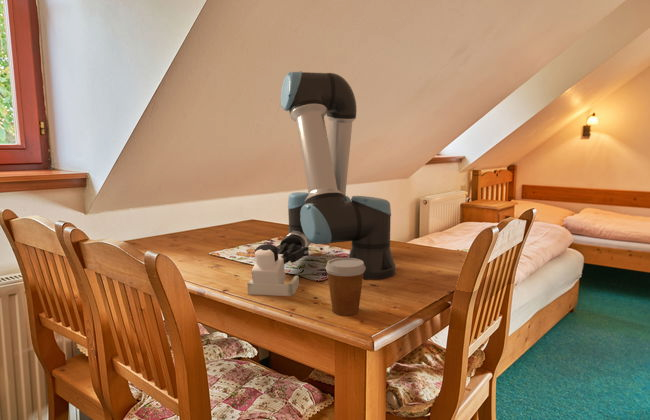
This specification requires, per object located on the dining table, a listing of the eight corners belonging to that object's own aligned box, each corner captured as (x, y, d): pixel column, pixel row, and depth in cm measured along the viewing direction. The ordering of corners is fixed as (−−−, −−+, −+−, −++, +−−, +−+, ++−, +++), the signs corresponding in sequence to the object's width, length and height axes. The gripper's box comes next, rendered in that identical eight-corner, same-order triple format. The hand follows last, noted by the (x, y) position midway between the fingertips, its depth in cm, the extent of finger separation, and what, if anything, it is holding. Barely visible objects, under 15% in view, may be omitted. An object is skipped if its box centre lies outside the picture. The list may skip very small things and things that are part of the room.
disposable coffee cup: (348, 321, 110) (348, 270, 108) (317, 311, 116) (316, 262, 114) (373, 310, 117) (373, 261, 115) (342, 301, 123) (342, 255, 121)
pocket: (298, 286, 135) (298, 275, 135) (292, 296, 127) (291, 285, 126) (257, 284, 137) (256, 274, 137) (247, 294, 129) (247, 283, 128)
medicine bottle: (260, 278, 136) (256, 240, 131) (285, 279, 135) (282, 241, 130) (254, 293, 130) (248, 254, 124) (280, 294, 129) (275, 255, 123)
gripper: (313, 257, 156) (298, 278, 133) (274, 255, 158) (252, 277, 135) (313, 234, 155) (298, 252, 132) (273, 233, 157) (251, 250, 134)
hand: (275, 264), depth 133 cm, fingers closed
